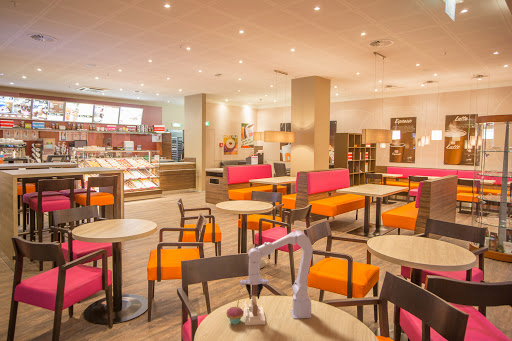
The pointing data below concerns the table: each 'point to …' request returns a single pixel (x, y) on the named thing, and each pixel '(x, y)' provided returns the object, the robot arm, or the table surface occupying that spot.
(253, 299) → the brown wooden bar
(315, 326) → the table surface
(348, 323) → the table surface
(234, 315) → the cupcake
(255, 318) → the cream lipped block
